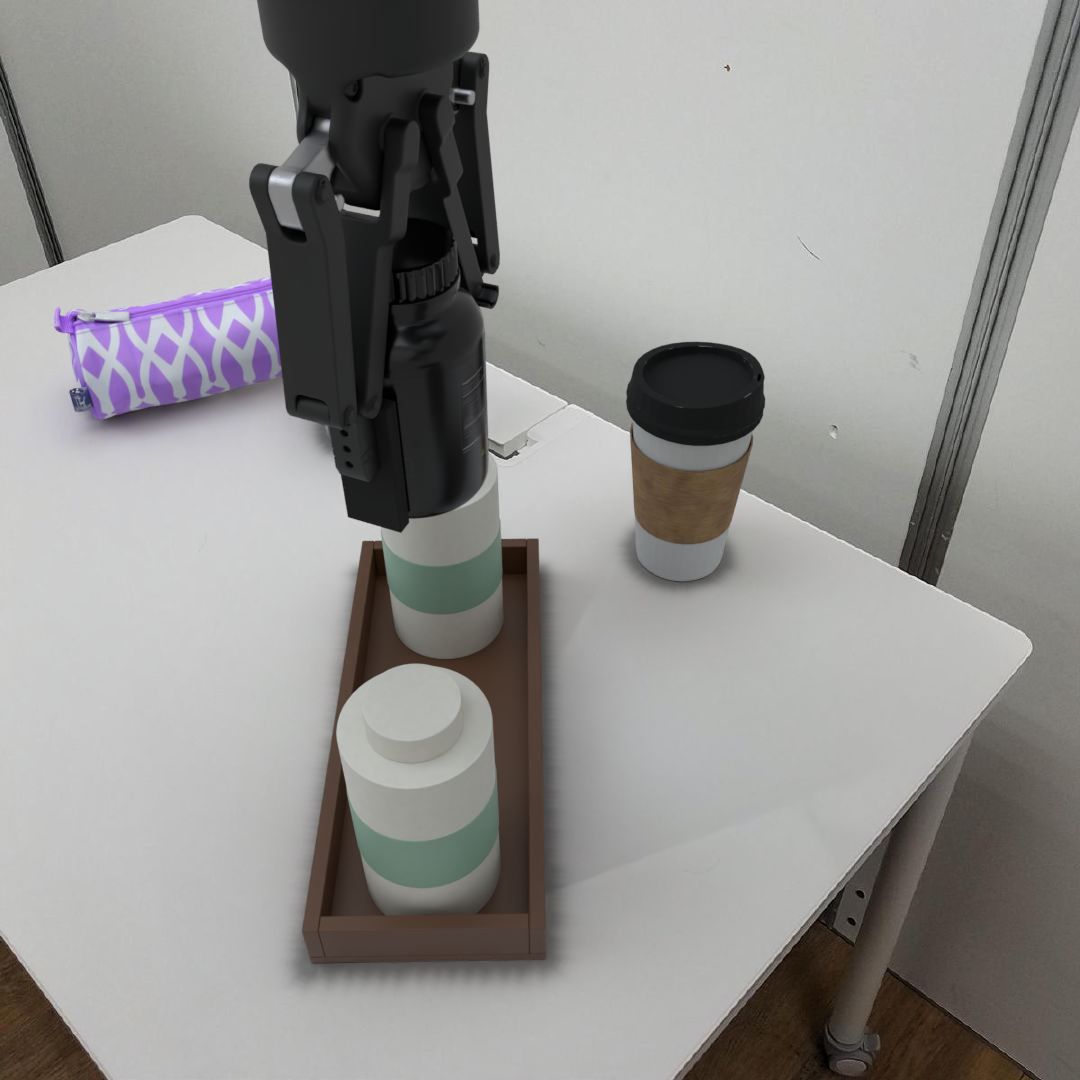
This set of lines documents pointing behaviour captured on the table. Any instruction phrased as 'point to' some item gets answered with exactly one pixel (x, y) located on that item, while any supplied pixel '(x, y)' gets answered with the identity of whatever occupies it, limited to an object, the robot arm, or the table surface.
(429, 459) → the supplement bottle
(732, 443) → the coffee cup
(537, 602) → the tray
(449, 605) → the white bottle far
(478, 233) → the robot arm
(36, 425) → the table surface
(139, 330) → the pencil case
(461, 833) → the white bottle near
